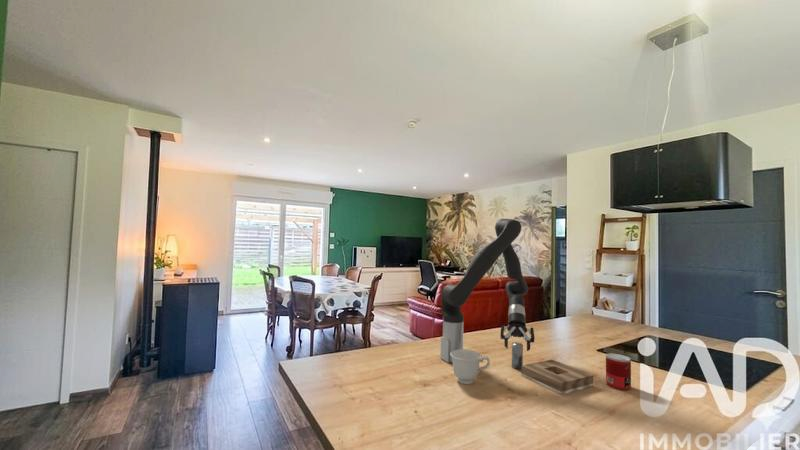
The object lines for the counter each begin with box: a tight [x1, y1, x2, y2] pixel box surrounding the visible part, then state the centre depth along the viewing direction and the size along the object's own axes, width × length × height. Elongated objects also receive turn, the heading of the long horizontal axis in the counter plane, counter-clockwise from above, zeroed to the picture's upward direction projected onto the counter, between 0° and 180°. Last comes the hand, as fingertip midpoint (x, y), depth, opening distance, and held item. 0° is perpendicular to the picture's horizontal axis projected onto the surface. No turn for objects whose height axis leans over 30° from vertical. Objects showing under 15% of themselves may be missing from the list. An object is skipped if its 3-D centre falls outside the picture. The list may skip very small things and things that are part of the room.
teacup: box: [450, 348, 491, 385], centre depth 127 cm, size 12×15×10 cm
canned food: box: [605, 353, 632, 391], centre depth 126 cm, size 8×8×11 cm
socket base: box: [520, 359, 594, 396], centre depth 129 cm, size 18×18×4 cm
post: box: [511, 341, 524, 371], centre depth 142 cm, size 4×4×10 cm
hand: (517, 348), depth 144 cm, fingers open, 8 cm apart
